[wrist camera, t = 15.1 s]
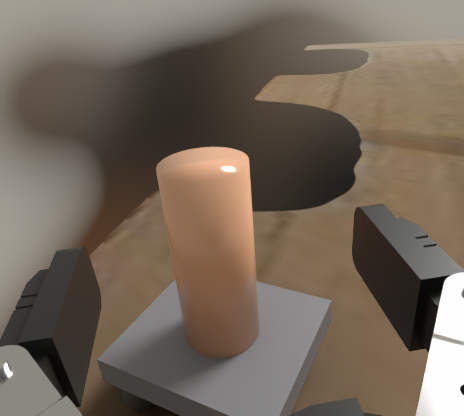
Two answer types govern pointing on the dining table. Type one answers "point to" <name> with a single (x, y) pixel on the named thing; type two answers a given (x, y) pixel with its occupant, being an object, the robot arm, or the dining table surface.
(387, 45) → the dining table surface
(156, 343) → the caster cart
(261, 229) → the dining table surface
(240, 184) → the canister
